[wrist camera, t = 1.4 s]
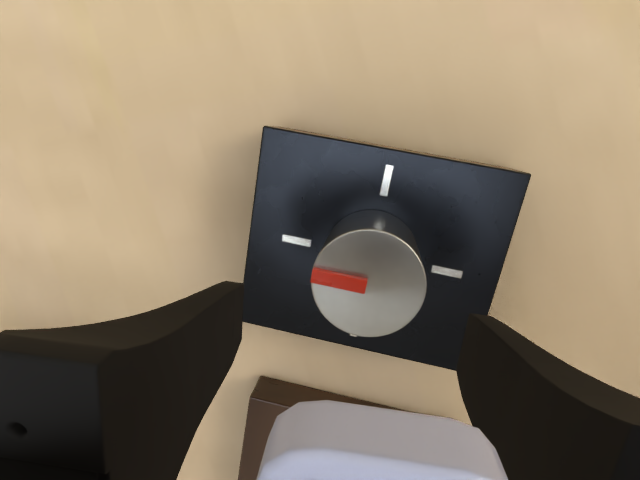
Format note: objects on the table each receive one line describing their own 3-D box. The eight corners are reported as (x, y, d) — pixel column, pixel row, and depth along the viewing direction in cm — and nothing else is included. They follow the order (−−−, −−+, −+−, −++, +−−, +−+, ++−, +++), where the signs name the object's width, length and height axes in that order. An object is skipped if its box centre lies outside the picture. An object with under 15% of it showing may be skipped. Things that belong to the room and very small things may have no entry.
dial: (427, 219, 19) (440, 244, 14) (406, 307, 20) (412, 352, 16) (333, 201, 19) (319, 219, 15) (317, 287, 20) (300, 327, 16)
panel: (511, 168, 20) (533, 174, 17) (458, 344, 23) (470, 376, 20) (278, 126, 22) (261, 125, 19) (254, 299, 24) (237, 322, 21)
